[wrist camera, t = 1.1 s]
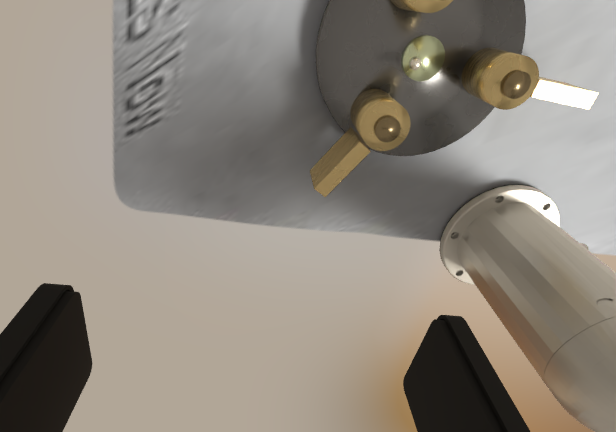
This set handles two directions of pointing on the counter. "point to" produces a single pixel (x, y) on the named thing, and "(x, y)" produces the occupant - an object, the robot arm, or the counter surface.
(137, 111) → the counter surface
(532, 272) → the robot arm
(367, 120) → the knob
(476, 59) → the knob
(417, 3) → the knob
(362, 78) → the base
